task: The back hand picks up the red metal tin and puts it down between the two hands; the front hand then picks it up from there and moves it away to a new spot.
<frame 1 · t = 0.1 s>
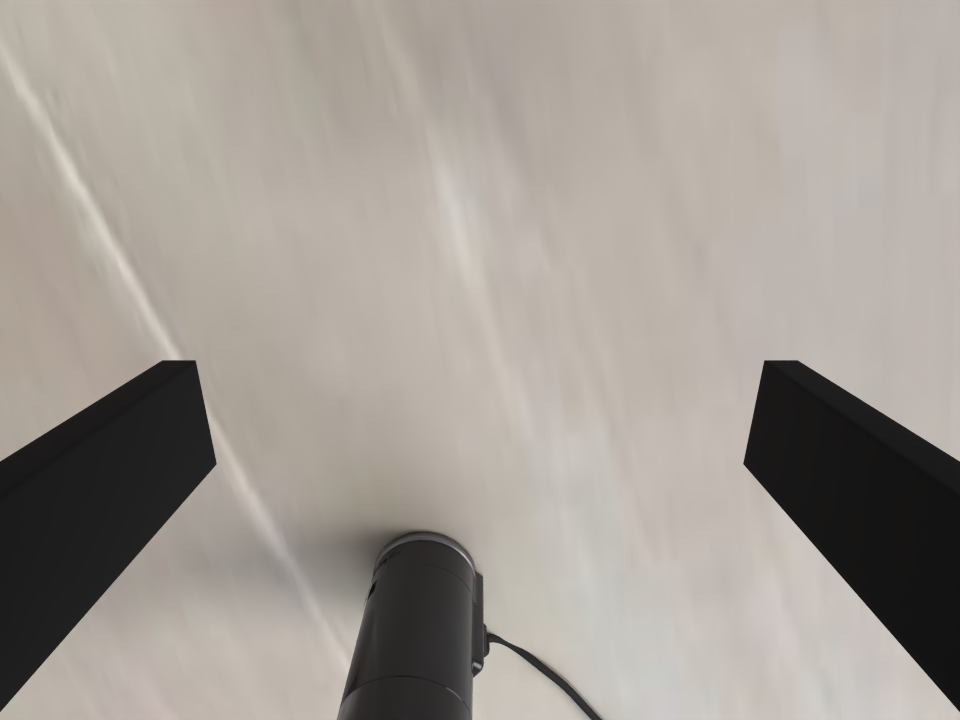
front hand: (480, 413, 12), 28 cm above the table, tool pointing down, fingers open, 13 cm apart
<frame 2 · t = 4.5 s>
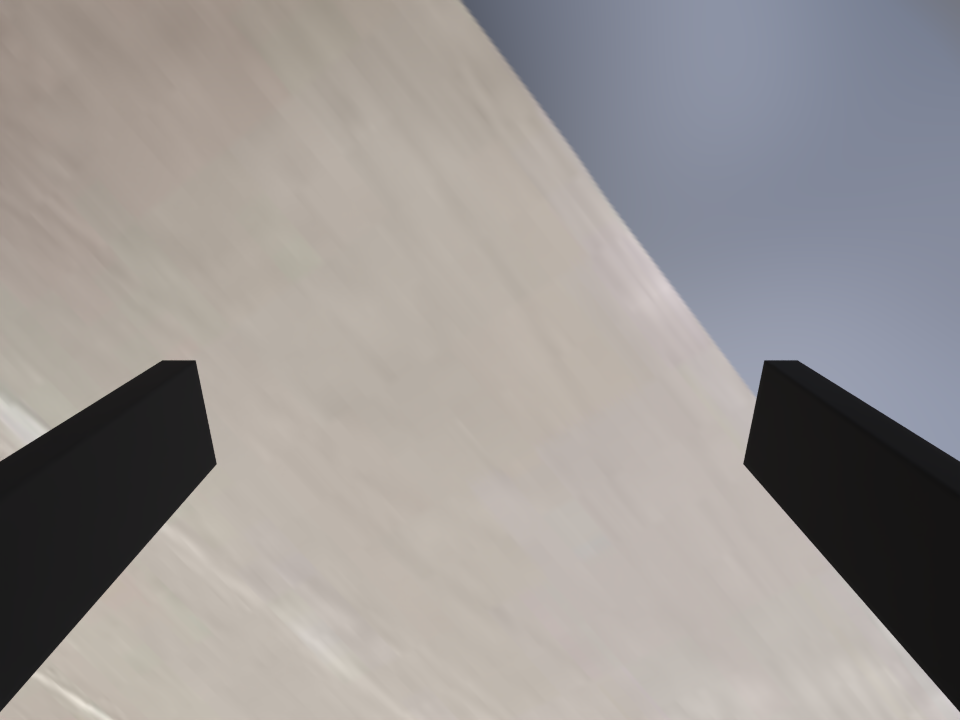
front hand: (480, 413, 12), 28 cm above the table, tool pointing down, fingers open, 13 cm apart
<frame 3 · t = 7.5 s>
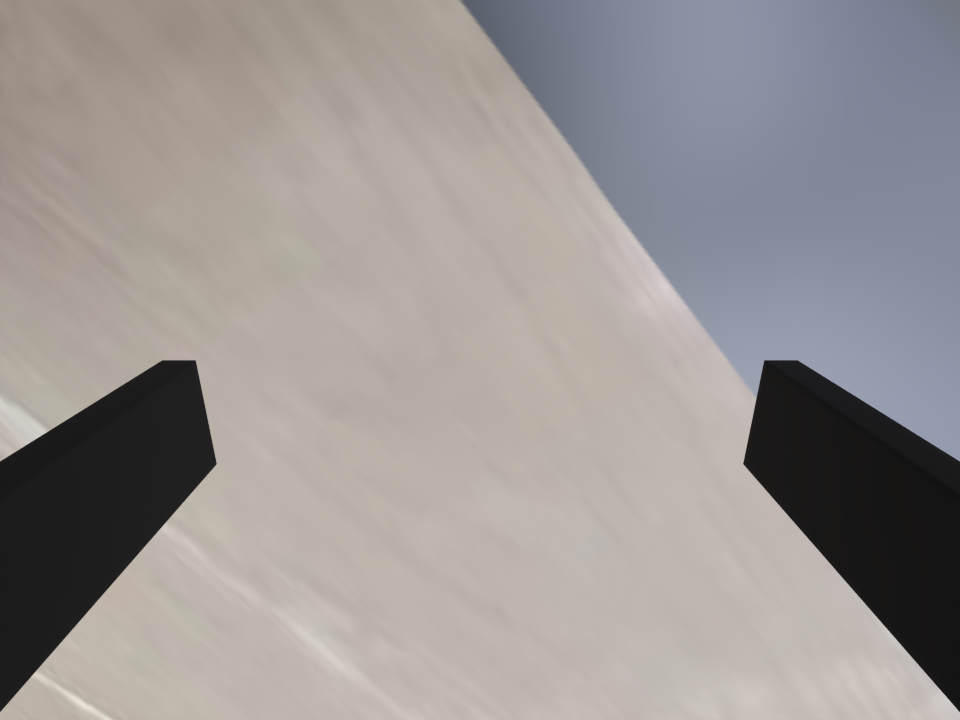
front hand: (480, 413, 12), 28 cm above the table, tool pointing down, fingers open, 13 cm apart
when the back hand's fingers open (9 cm above the table, at t = 10.6 s): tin stays where it is, on the table.
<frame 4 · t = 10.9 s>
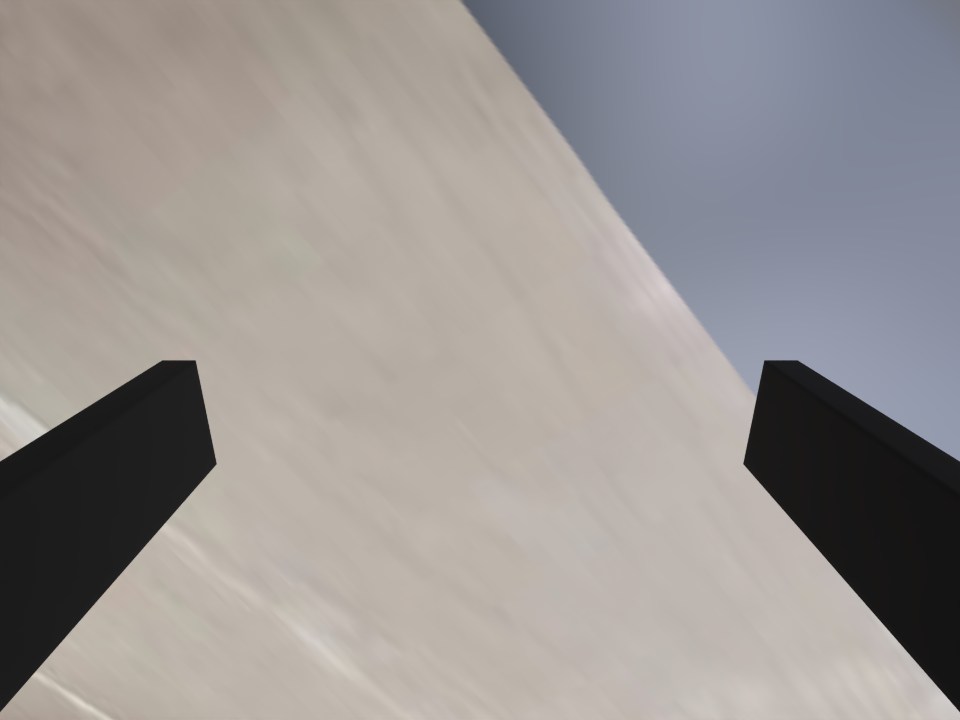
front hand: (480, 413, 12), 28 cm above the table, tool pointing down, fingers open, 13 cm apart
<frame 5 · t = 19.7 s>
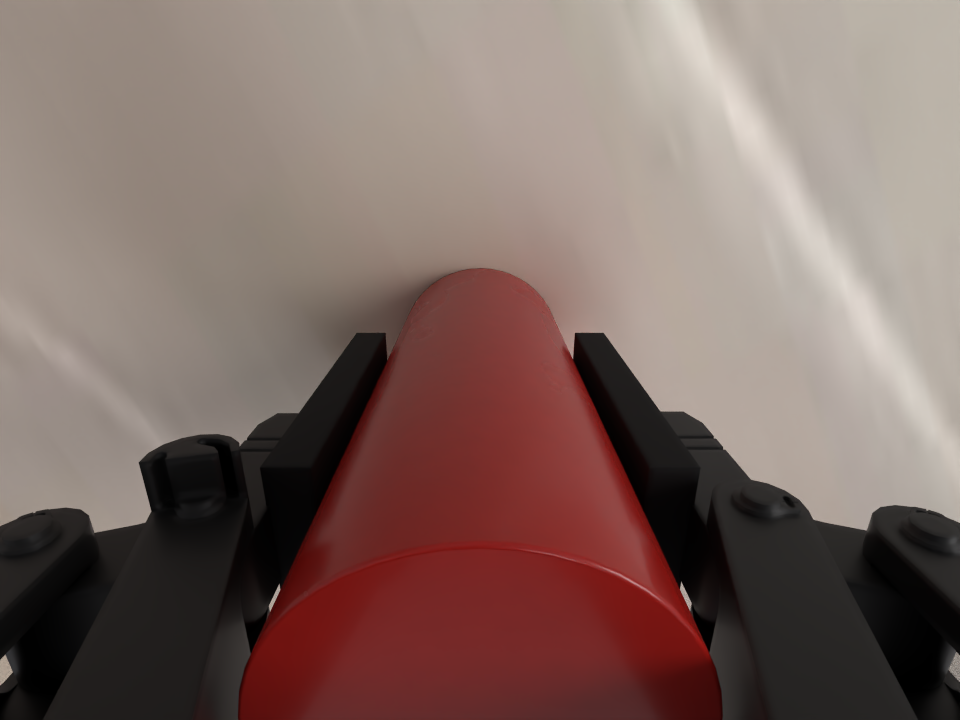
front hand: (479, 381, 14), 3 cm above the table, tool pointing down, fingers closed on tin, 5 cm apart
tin: (480, 344, 17), on the table, touching front hand
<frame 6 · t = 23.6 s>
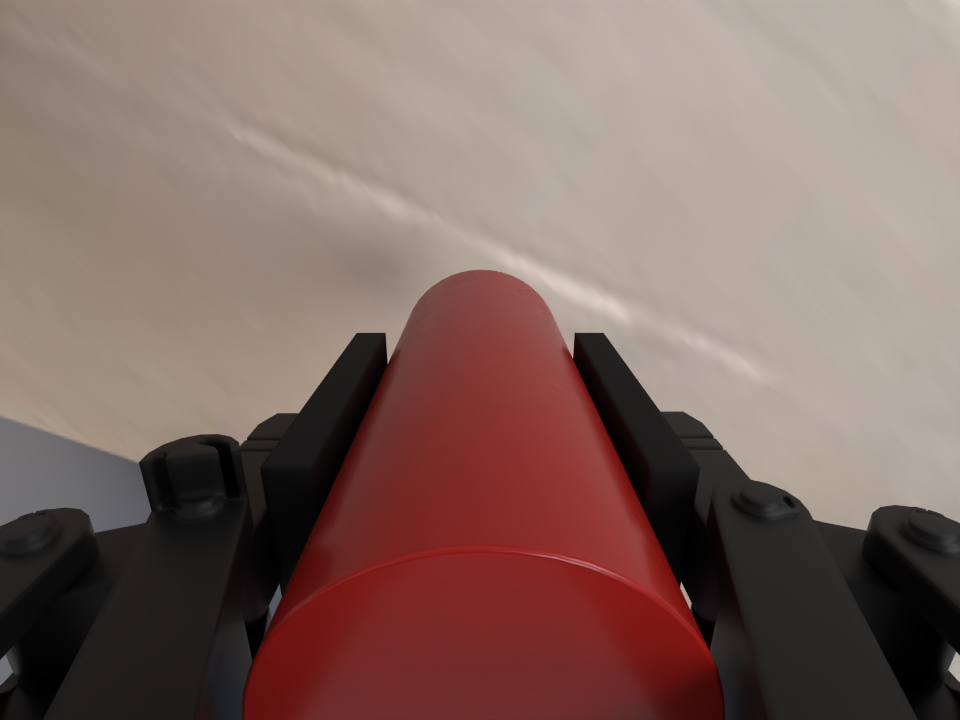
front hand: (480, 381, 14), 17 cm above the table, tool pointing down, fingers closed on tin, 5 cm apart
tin: (481, 345, 17), point 14 cm above the table, touching front hand
when the front hand's fingers open (4 cm above the table, at t = 27.5 s): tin stays where it is, on the table.
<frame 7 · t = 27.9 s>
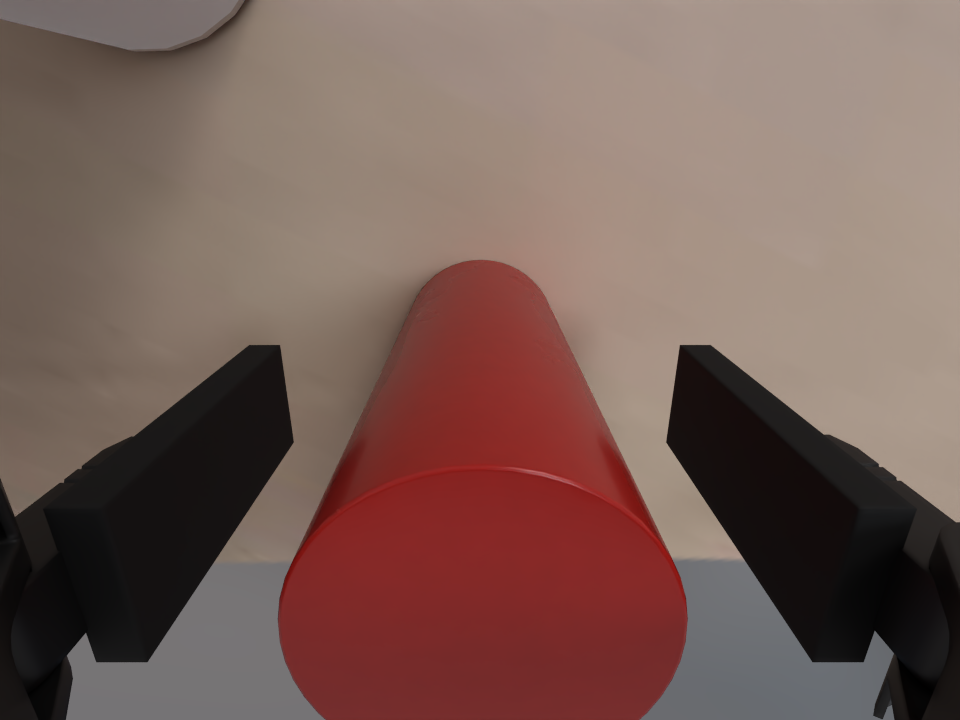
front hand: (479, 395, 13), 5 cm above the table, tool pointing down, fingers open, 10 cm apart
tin: (480, 332, 18), on the table
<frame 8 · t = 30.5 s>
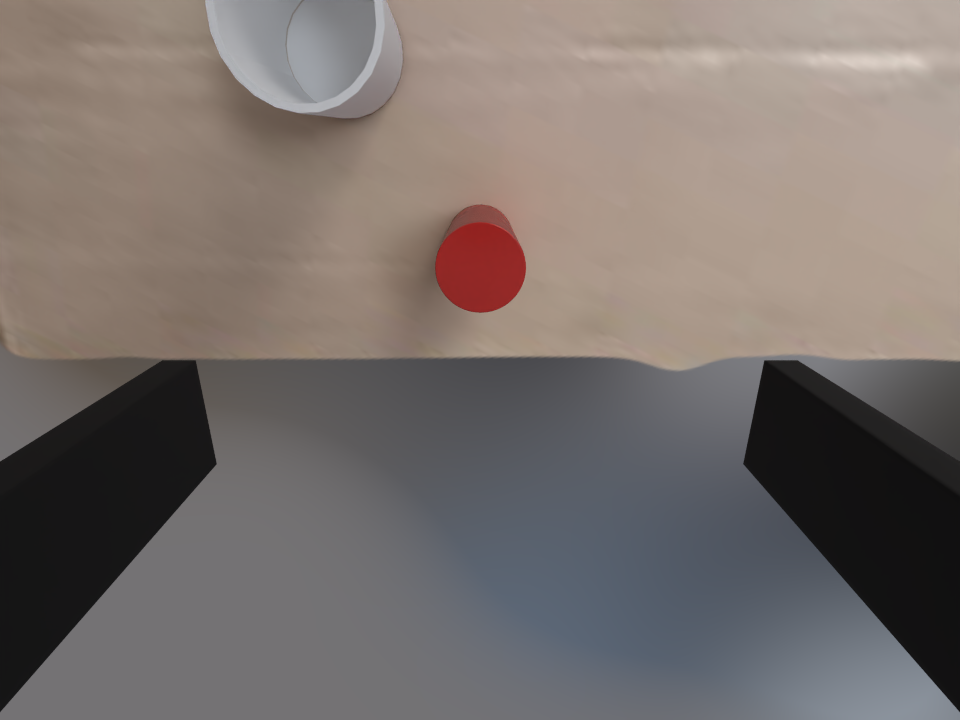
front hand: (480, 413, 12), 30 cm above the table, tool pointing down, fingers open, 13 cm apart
mug: (335, 41, 36), on the table
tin: (480, 238, 41), on the table
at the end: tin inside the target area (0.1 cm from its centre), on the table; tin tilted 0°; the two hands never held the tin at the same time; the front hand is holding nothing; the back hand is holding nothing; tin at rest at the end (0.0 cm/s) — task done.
